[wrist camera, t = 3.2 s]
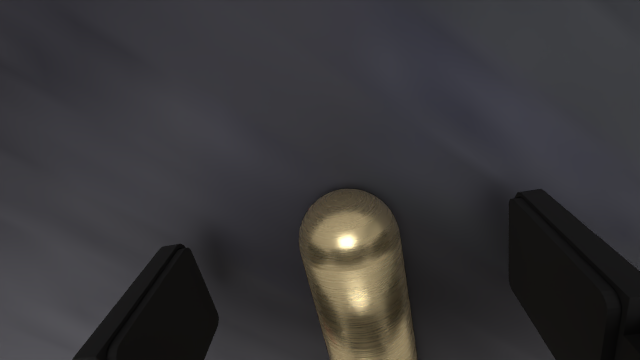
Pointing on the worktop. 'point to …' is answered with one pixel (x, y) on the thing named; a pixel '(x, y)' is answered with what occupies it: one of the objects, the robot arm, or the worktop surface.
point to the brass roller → (357, 277)
